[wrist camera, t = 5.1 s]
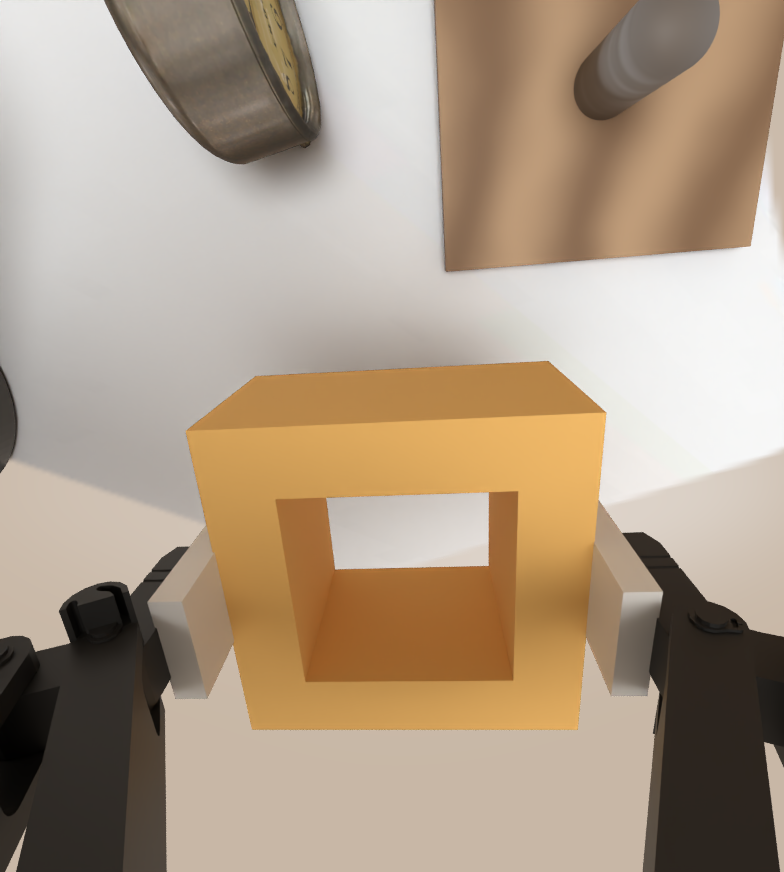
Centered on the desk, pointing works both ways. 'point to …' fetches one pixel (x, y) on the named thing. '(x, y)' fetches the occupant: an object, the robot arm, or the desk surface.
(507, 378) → the orange square frame
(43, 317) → the desk surface
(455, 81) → the hook board
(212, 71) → the alarm clock
